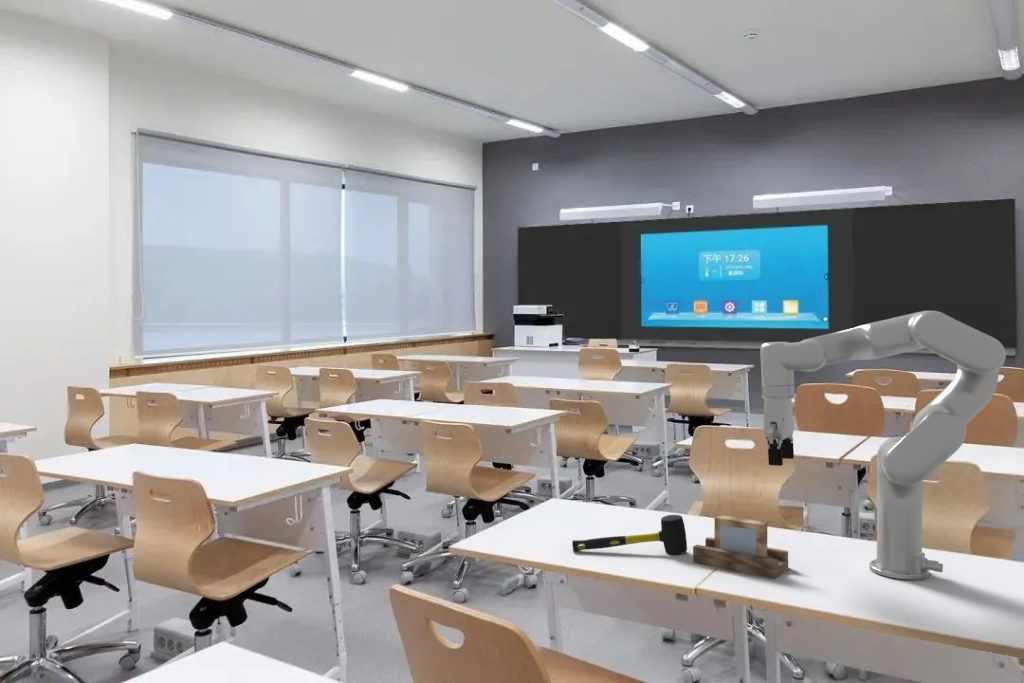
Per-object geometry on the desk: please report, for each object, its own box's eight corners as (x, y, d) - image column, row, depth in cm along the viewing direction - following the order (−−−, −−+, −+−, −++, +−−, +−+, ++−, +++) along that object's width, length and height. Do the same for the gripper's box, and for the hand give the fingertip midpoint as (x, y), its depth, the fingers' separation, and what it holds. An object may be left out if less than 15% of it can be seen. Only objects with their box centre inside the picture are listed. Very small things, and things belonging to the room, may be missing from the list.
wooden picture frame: (767, 559, 188) (767, 522, 188) (762, 563, 186) (762, 525, 185) (719, 550, 195) (719, 514, 195) (714, 554, 193) (714, 517, 193)
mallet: (572, 555, 200) (572, 518, 199) (572, 548, 206) (572, 512, 205) (688, 557, 198) (688, 519, 197) (685, 549, 204) (685, 513, 203)
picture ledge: (788, 567, 189) (788, 550, 188) (774, 578, 181) (774, 560, 180) (708, 552, 200) (708, 536, 200) (692, 562, 192) (692, 545, 192)
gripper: (773, 388, 202) (776, 455, 202) (751, 395, 188) (755, 467, 188) (803, 388, 198) (806, 456, 198) (783, 396, 183) (787, 469, 184)
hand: (781, 461), depth 193 cm, fingers open, 9 cm apart
